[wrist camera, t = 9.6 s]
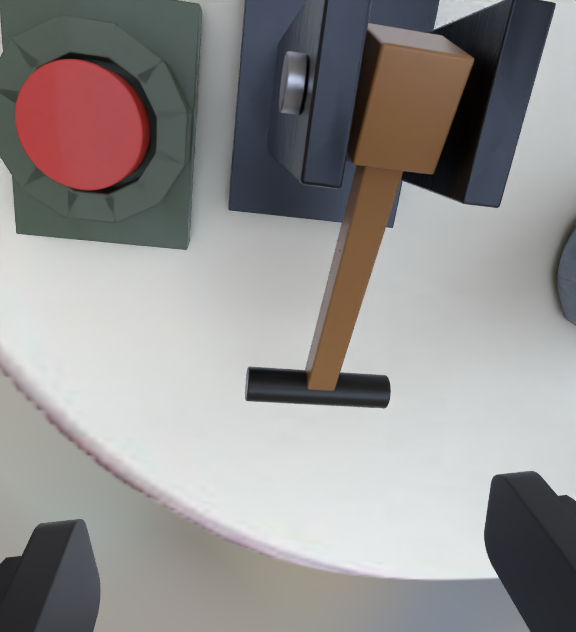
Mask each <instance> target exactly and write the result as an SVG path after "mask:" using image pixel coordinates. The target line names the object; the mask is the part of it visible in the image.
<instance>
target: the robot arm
mask: <svg viewBox="0 0 576 632" xmlns="http://www.w3.org/2000/svg"><path fill="white" fill-rule="evenodd" d="M484 540H485V546H486V551H487V554H488V557H489V560H490V562H491V564H492V566H493V568H494V570H495V571H496V573H497V575H498V577H499V578H500V580H501V582H502V583H503V585H504V587H505V588H506V590H507V592H508V594H509V595H510V597H511V599H512V601H513V602H514V604H515V606H516V608H517V609H518V611H519V613H520V614H521V616H522V618H523V619H524V621H525V623H526V625H527V626H528V628H529V629H530V632H576V501H575V500H574V499H572V498H570V497H569V496H567V495H563V496H557V494H556V493H555V492H554V491H553V490H552V489H551V487H550V486H549V485H548V484H547V483H546V482H545V480H544V479H543V478H542V477H541V476H540V475H539V474H538V473H536V472H534V471H527V472H518V473H509V474H499V475H495V476H494V477H493V479H492V482H491V487H490V494H489V501H488V509H487V516H486V523H485V530H484ZM99 603H100V578H99V573H98V569H97V566H96V562H95V558H94V554H93V550H92V546H91V542H90V539H89V534H88V530H87V527H86V524H85V522H84V521H83V520H82V519H76V520H67V521H58V522H49V523H41V524H39V525H38V526H37V527H36V528H35V529H34V531H33V533H32V535H31V537H30V539H29V542H28V544H27V546H26V548H25V550H24V552H23V554H22V556H17V557H8V558H6V559H5V560H4V561H3V562H2V563H1V564H0V632H93V630H94V626H95V622H96V618H97V615H98V610H99Z"/></svg>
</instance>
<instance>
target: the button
mask: <svg viewBox="0 0 576 632" xmlns="http://www.w3.org/2000/svg"><path fill="white" fill-rule="evenodd" d="M15 122H16V129H17V133H18V137H19V139H20V142H21V144H22V146H23V148H24V150H25V152H26V154H27V155H28V156H29V158H30V159H31V161H32V162H33V163H34V164H35V165H36V167H37V168H39V169H40V170H41V171H42V172H43V173H44V174H45V175H47V176H48V177H49V178H51V179H53V180H54V181H56V182H58V183H60V184H62V185H65V186H67V187H71V188H74V189H80V190H98V189H103V188H107V187H109V186H112V185H114V184H116V183H118V182H119V181H121V180H123V179H124V178H126V177H128V176H129V175H130V174H132V173H133V172H134V171H135V170H136V169H137V168H138V167H139V165H140V164H141V163H142V161H143V159H144V157H145V156H146V153H147V150H148V146H149V142H150V124H149V118H148V114H147V111H146V109H145V106H144V104H143V102H142V100H141V98H140V97H139V95H138V94H137V92H136V91H135V90H134V88H133V87H132V86H131V85H130V84H129V83H128V82H127V81H126V80H125V79H123V78H122V77H121V76H119V75H118V74H116V73H115V72H113V71H111V70H109V69H107V68H104V67H102V66H99V65H97V64H94V63H91V62H88V61H84V60H79V59H61V60H56V61H52V62H50V63H47V64H45V65H43V66H41V67H40V68H38V69H37V70H35V71H34V72H33V73H32V74H31V75H30V76H29V77H28V78H27V79H26V81H25V82H24V84H23V86H22V87H21V90H20V92H19V94H18V98H17V101H16V108H15Z"/></svg>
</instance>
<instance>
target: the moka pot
mask: <svg viewBox="0 0 576 632" xmlns="http://www.w3.org/2000/svg"><path fill="white" fill-rule="evenodd" d="M557 289H558V292H559V297H560V303H561V305H562V308H563V312H564V317H565V318H566V319H567V320H568V321H570V322H571V323H573V324H574V325H576V227H575V228H574V230H573V232H572V233H571V235H570V237H569V238H568V240H567V242H566V244H565V247H564V250H563V253H562V257H561V259H560V265H559V270H558V279H557Z"/></svg>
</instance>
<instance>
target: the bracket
mask: <svg viewBox="0 0 576 632" xmlns="http://www.w3.org/2000/svg"><path fill="white" fill-rule="evenodd" d="M438 5H439V0H245V8H244V20H243V32H242V45H241V57H240V69H239V81H238V94H237V106H236V118H235V130H234V142H233V155H232V167H231V179H230V191H229V203H228V210H232V211H241V212H250V213H259V214H269V215H278V216H287V217H296V218H305V219H315V220H324V221H333V222H342V221H343V217H344V213H345V209H346V205H347V201H348V197H349V193H350V189H351V185H352V181H353V177H354V173H355V169H356V165H354V164H353V163H352V161H351V158H350V156H349V153H348V146H349V139H350V133H351V127H352V121H353V115H354V109H355V102H356V96H357V90H358V84H359V78H360V72H361V65H362V59H363V53H364V47H365V41H366V34H367V28H368V23H371V24H377V25H382V26H388V27H394V28H400V29H406V30H412V31H418V32H424V33H430V34H436V35H441V36H443V37H445V38H446V39H448V40H449V41H451V42H452V43H453V44H455V45H456V46H458V47H459V48H461V49H462V50H463V51H465V52H466V53H468V54H469V55H470V56H472V57H473V58H474V63H473V66H472V68H471V71H470V74H469V77H468V79H467V82H466V85H465V88H464V91H463V93H462V96H461V99H460V102H459V105H458V107H457V110H456V113H455V116H454V119H453V121H452V124H451V127H450V130H449V133H448V135H447V138H446V141H445V144H444V147H443V149H442V152H441V155H440V158H439V161H438V163H437V166H436V169H435V172H434V173H433V174H424V173H416V172H408V171H403V174H402V177H401V181H400V184H399V187H398V190H397V193H396V196H395V200H394V203H393V206H392V209H391V212H390V215H389V219H388V222H387V225H386V227H389V228H393V225H394V220H395V215H396V210H397V206H398V201H399V196H400V191H401V186H402V181H405V182H407V183H410V184H413V185H415V186H418V187H420V188H423V189H426V190H428V191H431V192H433V193H436V194H439V195H441V196H444V197H447V198H449V199H452V200H454V201H457V202H460V203H462V204H468V205H477V206H485V207H494V208H498V207H499V206H500V203H501V200H502V196H503V193H504V189H505V185H506V182H507V178H508V175H509V171H510V167H511V164H512V160H513V157H514V153H515V149H516V146H517V142H518V139H519V135H520V132H521V128H522V124H523V121H524V117H525V114H526V110H527V106H528V103H529V99H530V96H531V92H532V88H533V85H534V81H535V78H536V74H537V70H538V67H539V63H540V60H541V56H542V53H543V49H544V45H545V42H546V38H547V35H548V31H549V27H550V24H551V20H552V17H553V13H554V9H555V6H556V4H555V3H553V2H548V1H543V0H503V1H501V2H499V3H496V4H494V5H491V6H489V7H487V8H484V9H482V10H480V11H477V12H475V13H472V14H470V15H468V16H465V17H463V18H461V19H458V20H456V21H453V22H451V23H449V24H446V25H444V26H442V27H439V28H437V29H434V24H435V20H436V15H437V10H438ZM433 29H434V30H433Z"/></svg>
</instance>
